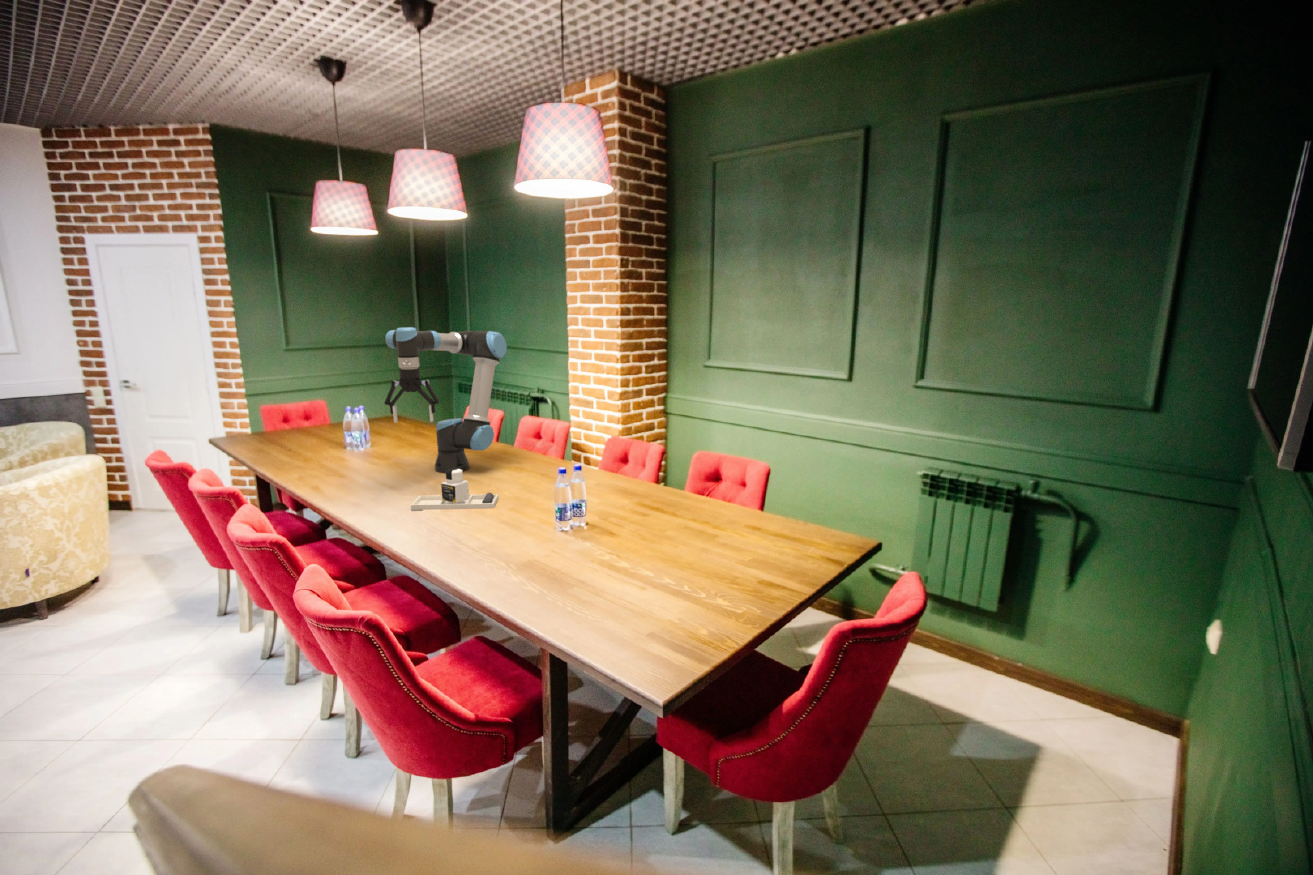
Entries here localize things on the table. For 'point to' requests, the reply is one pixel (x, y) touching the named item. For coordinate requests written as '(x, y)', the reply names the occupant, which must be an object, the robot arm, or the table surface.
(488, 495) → the grey cylinder
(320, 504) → the table surface
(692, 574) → the table surface
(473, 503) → the organiser
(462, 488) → the medicine bottle
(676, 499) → the table surface
